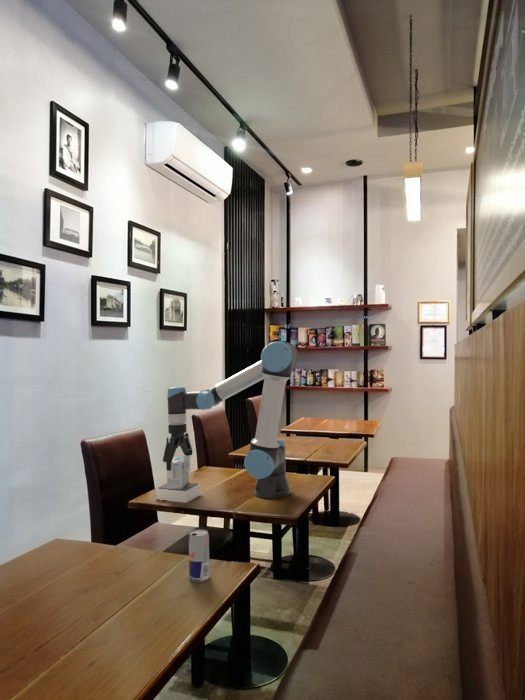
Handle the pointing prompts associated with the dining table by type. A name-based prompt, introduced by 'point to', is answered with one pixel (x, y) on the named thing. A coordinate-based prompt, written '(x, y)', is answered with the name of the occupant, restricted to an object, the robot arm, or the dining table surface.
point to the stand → (178, 493)
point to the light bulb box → (179, 474)
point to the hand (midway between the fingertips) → (178, 474)
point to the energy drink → (199, 556)
